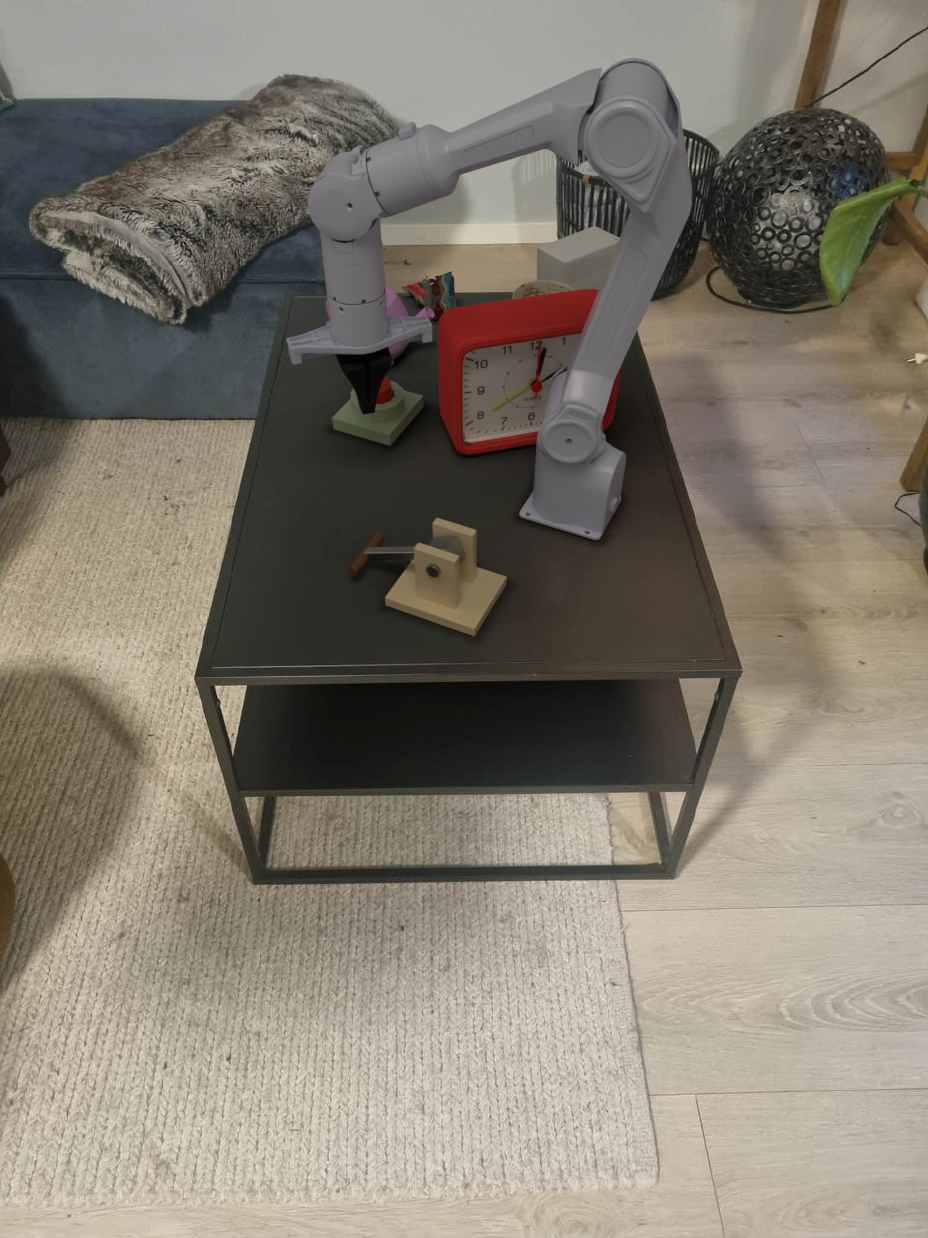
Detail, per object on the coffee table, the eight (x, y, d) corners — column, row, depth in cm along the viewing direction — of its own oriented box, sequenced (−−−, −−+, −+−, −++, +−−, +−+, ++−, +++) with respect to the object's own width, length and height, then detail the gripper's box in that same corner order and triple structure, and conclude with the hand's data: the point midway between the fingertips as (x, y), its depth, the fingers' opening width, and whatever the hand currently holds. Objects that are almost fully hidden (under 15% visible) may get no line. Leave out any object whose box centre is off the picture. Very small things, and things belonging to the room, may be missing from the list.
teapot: (339, 327, 131) (332, 263, 124) (443, 338, 129) (442, 274, 122) (316, 367, 124) (308, 302, 117) (426, 379, 122) (424, 314, 115)
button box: (423, 406, 118) (423, 382, 115) (390, 446, 113) (388, 422, 110) (368, 391, 120) (366, 367, 118) (333, 429, 115) (330, 405, 112)
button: (397, 392, 115) (396, 380, 113) (383, 408, 112) (382, 395, 111) (371, 385, 116) (370, 373, 114) (357, 400, 114) (356, 388, 112)
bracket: (385, 605, 95) (380, 549, 89) (420, 556, 100) (418, 500, 94) (474, 637, 92) (475, 581, 86) (506, 584, 97) (509, 528, 91)
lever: (353, 581, 96) (343, 563, 95) (380, 544, 100) (371, 527, 98) (448, 581, 89) (439, 562, 88) (474, 542, 93) (466, 523, 92)
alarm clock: (435, 416, 117) (432, 300, 105) (585, 392, 120) (598, 276, 108) (455, 463, 110) (454, 344, 99) (613, 436, 114) (630, 318, 102)
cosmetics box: (589, 293, 137) (594, 223, 129) (618, 311, 133) (626, 239, 126) (533, 316, 133) (535, 244, 125) (562, 335, 129) (566, 262, 122)
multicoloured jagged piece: (393, 241, 134) (430, 231, 135) (399, 288, 139) (434, 277, 140) (427, 278, 126) (465, 266, 128) (432, 325, 132) (468, 314, 133)
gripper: (417, 260, 94) (421, 376, 104) (274, 281, 91) (293, 399, 101) (437, 293, 89) (439, 412, 100) (287, 317, 87) (305, 437, 97)
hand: (366, 408), depth 100 cm, fingers closed
